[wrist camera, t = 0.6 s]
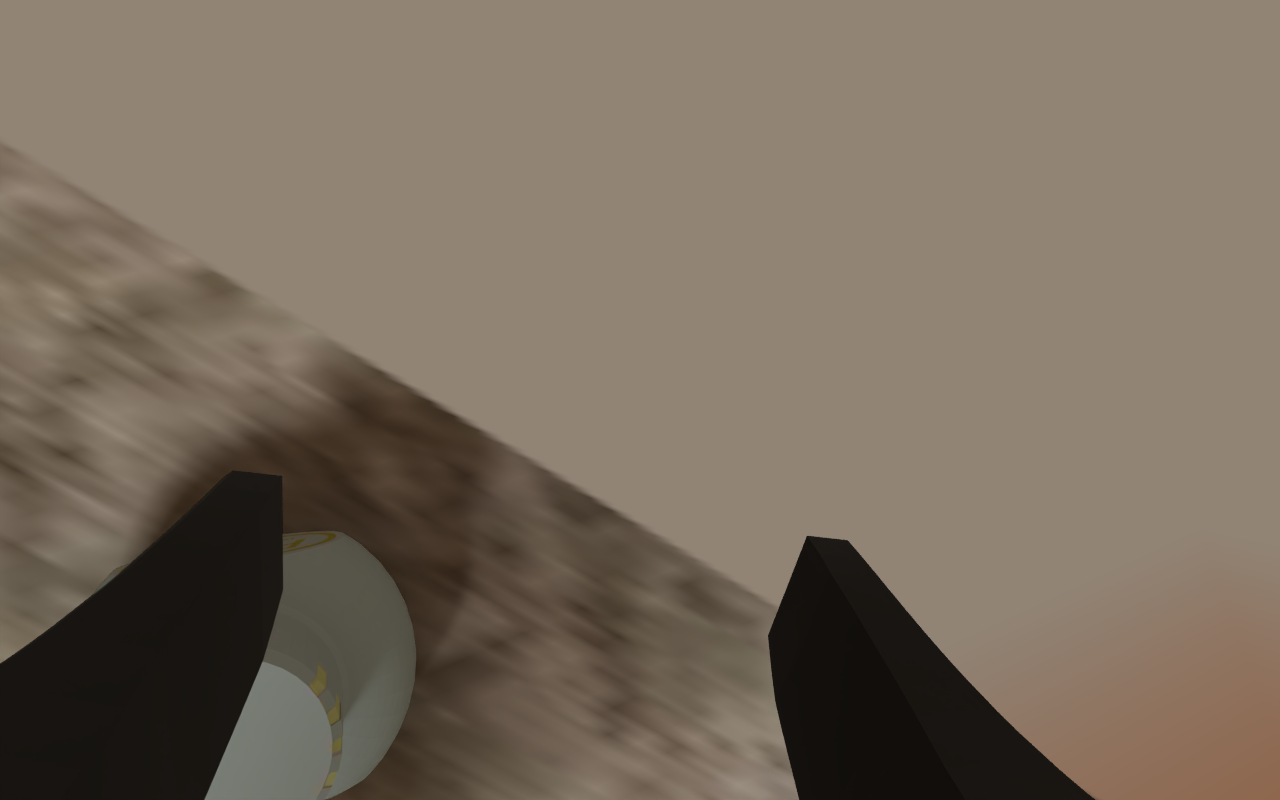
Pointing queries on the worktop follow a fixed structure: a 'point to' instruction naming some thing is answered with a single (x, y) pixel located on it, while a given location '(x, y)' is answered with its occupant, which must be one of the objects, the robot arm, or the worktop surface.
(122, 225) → the worktop surface
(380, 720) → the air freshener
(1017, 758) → the robot arm
